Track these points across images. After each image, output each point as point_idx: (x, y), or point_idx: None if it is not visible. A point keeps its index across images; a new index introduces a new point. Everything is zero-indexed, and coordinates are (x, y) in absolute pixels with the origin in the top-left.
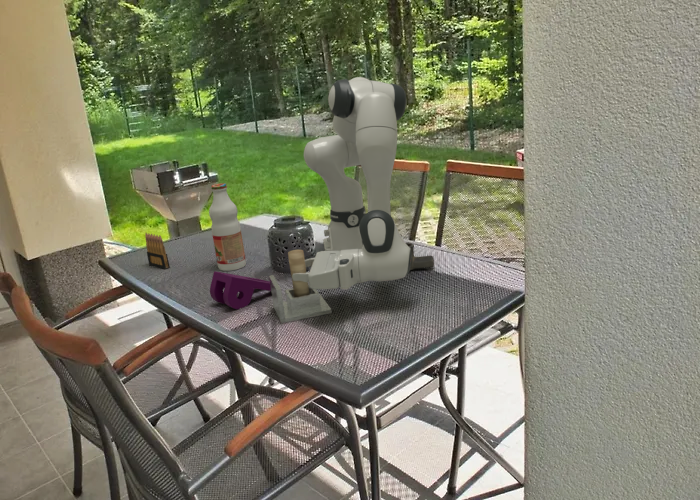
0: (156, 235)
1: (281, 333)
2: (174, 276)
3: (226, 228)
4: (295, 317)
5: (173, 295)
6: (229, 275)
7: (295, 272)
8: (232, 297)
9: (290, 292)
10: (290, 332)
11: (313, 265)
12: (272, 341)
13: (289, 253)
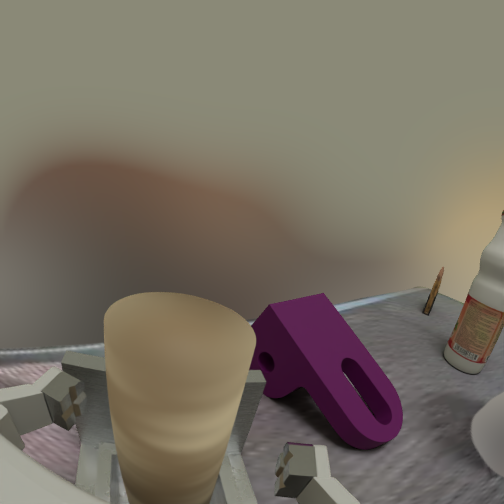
0: (441, 269)
1: None
2: (405, 318)
3: (484, 288)
4: (77, 471)
5: None
6: (300, 309)
7: (71, 384)
8: None
9: None
10: None
11: (41, 479)
12: (3, 383)
13: (169, 296)
